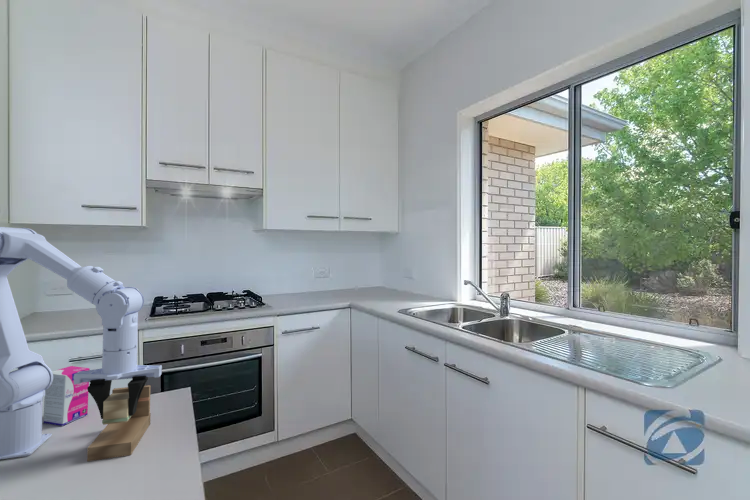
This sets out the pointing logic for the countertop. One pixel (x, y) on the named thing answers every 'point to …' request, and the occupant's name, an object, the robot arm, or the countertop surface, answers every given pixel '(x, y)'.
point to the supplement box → (65, 397)
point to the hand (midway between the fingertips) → (118, 415)
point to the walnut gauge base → (122, 431)
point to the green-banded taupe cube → (116, 408)
